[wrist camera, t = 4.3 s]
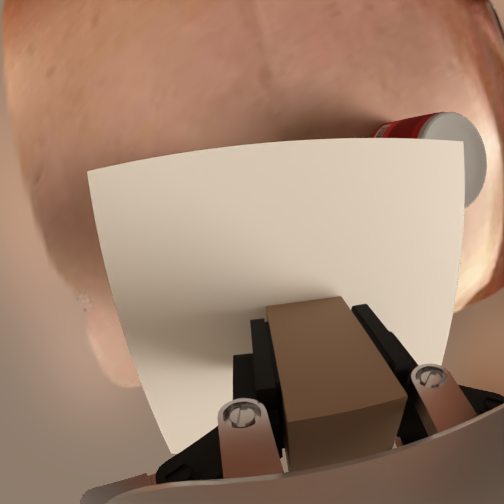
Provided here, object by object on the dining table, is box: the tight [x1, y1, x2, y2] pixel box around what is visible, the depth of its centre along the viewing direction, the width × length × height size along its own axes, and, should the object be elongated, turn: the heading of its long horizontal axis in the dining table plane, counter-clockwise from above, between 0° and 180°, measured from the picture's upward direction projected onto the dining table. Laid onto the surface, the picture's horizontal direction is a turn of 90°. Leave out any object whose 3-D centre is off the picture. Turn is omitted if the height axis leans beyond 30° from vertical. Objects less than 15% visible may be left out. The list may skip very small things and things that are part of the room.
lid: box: [87, 138, 465, 472], centre depth 10 cm, size 15×15×7 cm
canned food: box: [371, 112, 487, 208], centre depth 25 cm, size 8×8×11 cm
